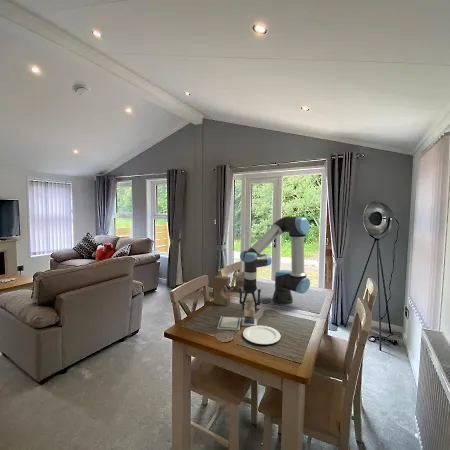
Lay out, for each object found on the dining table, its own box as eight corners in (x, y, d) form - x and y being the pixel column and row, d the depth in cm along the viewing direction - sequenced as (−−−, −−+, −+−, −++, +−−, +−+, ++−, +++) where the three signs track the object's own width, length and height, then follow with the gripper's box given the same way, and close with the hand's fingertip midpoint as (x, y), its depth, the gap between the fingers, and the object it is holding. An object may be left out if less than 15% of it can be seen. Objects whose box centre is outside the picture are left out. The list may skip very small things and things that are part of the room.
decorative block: (230, 303, 193) (230, 277, 191) (226, 306, 188) (227, 279, 186) (217, 301, 198) (217, 275, 196) (213, 303, 193) (213, 276, 191)
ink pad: (256, 320, 166) (256, 316, 166) (256, 326, 157) (256, 323, 157) (242, 319, 167) (242, 315, 167) (241, 325, 158) (241, 322, 158)
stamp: (253, 315, 164) (253, 299, 163) (253, 318, 159) (253, 302, 158) (245, 314, 164) (245, 298, 164) (245, 317, 159) (245, 301, 159)
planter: (248, 294, 214) (248, 277, 212) (231, 290, 222) (231, 274, 221) (256, 289, 227) (257, 273, 226) (240, 285, 235) (241, 270, 234)
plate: (254, 350, 132) (254, 347, 132) (236, 331, 151) (236, 329, 151) (288, 342, 141) (288, 339, 140) (267, 325, 160) (267, 322, 159)
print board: (241, 318, 168) (241, 316, 168) (239, 330, 152) (239, 328, 152) (220, 317, 170) (220, 315, 170) (217, 328, 154) (217, 327, 154)
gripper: (265, 277, 162) (264, 313, 164) (235, 275, 164) (235, 311, 166) (265, 280, 155) (264, 318, 157) (234, 279, 157) (234, 316, 159)
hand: (249, 315), depth 161 cm, fingers closed on stamp, 5 cm apart
